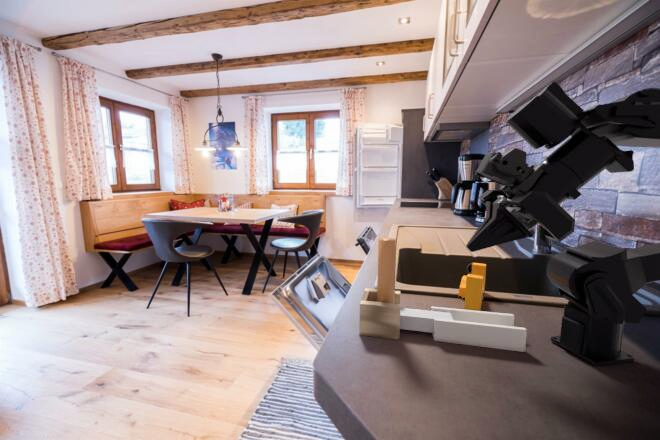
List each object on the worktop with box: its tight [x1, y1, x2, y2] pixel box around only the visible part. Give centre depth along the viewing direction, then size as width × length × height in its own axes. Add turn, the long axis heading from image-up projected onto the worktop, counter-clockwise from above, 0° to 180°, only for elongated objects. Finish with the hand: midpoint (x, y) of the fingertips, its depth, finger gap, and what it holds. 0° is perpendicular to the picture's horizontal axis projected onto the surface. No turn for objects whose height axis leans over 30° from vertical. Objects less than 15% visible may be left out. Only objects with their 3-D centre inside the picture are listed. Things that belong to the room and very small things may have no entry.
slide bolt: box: [376, 237, 453, 334], centre depth 45 cm, size 12×3×14 cm, turn 76°
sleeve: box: [430, 305, 528, 353], centre depth 44 cm, size 12×5×3 cm, turn 76°
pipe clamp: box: [458, 262, 487, 311], centre depth 59 cm, size 12×4×6 cm, turn 149°
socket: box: [358, 287, 401, 341], centre depth 47 cm, size 6×7×5 cm
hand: (468, 249), depth 43 cm, fingers closed
